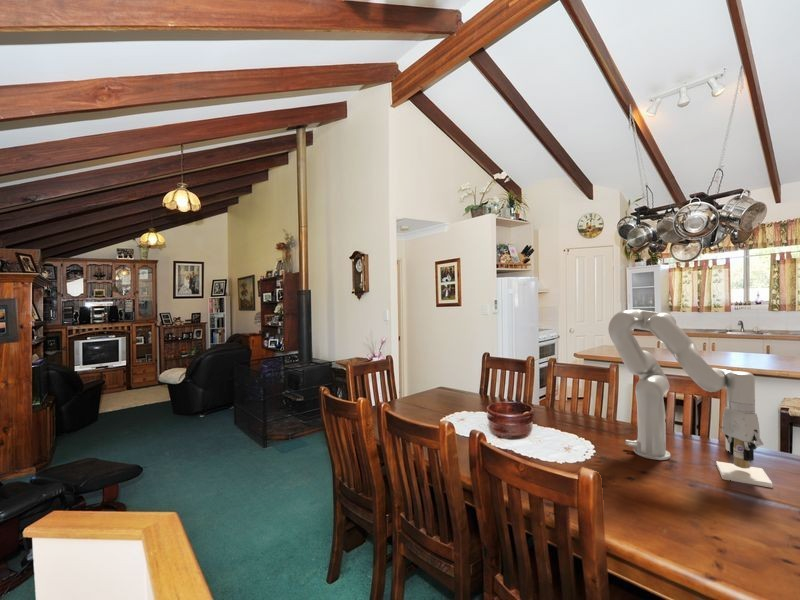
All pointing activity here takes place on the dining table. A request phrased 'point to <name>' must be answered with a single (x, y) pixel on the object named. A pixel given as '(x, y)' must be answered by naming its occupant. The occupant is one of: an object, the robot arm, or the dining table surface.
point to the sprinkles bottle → (740, 454)
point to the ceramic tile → (744, 474)
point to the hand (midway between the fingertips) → (741, 456)
